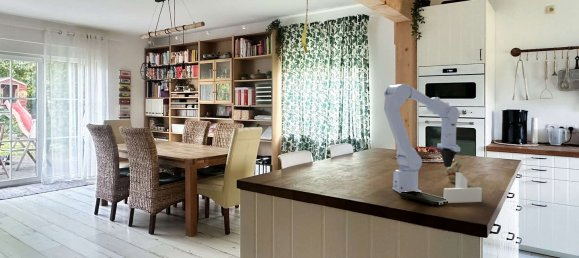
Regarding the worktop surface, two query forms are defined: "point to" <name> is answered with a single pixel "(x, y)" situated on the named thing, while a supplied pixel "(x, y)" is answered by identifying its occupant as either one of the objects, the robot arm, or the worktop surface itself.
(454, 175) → the chocolate bunny
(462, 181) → the white wedge bracket
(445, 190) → the wall panel
